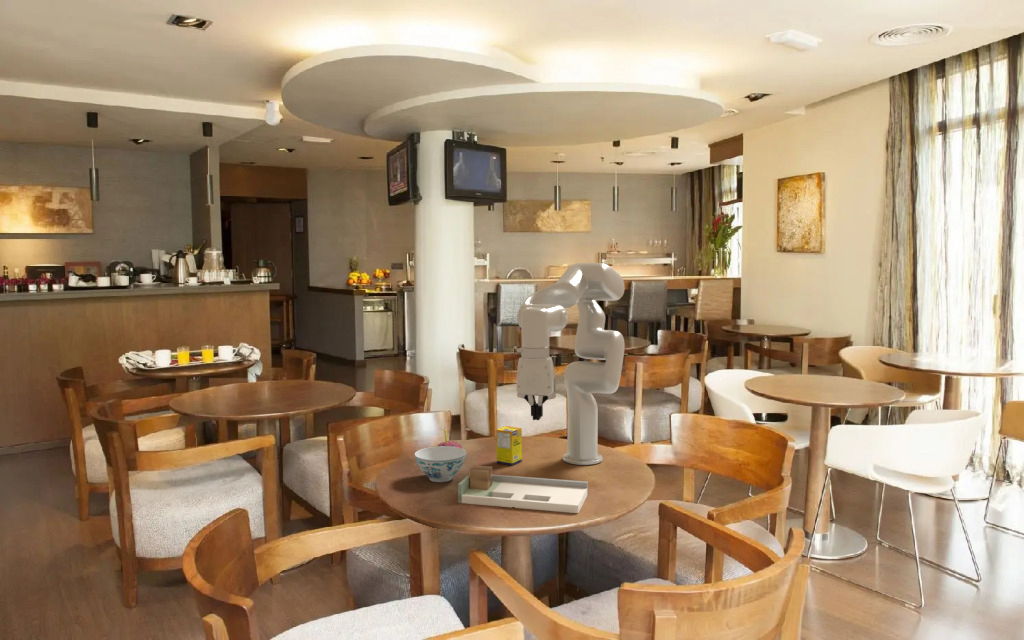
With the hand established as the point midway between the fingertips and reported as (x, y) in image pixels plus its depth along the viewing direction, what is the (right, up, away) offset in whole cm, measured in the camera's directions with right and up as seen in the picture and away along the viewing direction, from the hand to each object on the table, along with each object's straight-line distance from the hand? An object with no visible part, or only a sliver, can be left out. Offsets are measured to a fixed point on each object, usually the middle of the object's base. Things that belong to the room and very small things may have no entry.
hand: (536, 418), depth 193 cm
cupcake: (-27, -18, +28) cm, 43 cm away
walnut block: (-15, -18, -1) cm, 24 cm away
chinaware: (-28, -20, +13) cm, 36 cm away
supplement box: (-8, -18, +29) cm, 35 cm away
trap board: (-4, -21, -5) cm, 21 cm away
